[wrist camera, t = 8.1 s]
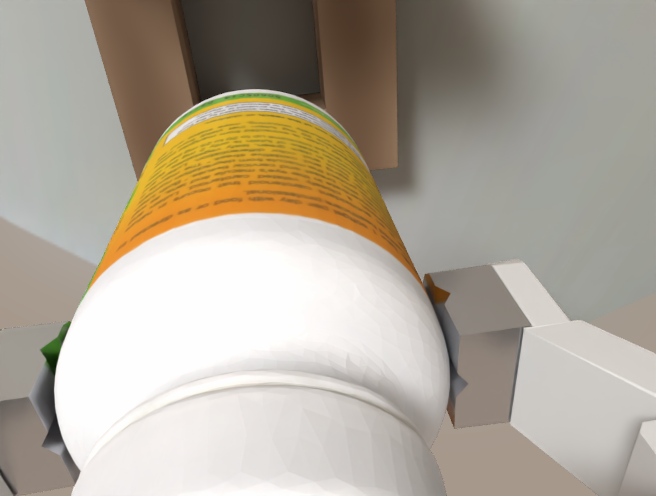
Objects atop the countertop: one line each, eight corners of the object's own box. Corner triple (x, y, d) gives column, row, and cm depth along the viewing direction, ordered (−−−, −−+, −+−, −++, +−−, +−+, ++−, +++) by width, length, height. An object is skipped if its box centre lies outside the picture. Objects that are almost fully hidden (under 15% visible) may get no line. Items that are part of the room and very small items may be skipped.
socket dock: (379, -194, 24) (468, -276, 14) (386, 147, 32) (445, 253, 22) (57, -167, 23) (-101, -232, 13) (151, 174, 32) (101, 297, 21)
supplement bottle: (113, 105, 12) (-226, 511, 4) (354, 65, 12) (573, 364, 4) (181, 301, 15) (80, 788, 6) (376, 266, 15) (529, 696, 6)
